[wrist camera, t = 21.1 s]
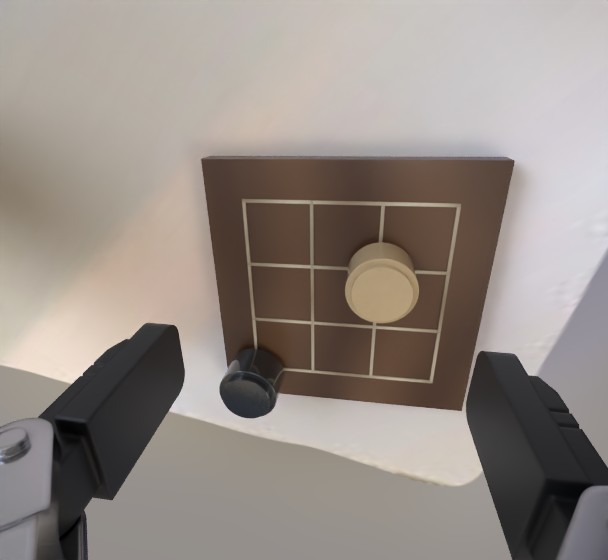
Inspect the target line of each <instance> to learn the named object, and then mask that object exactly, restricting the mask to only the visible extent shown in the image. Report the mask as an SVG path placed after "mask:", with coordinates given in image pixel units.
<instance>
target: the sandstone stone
mask: <svg viewBox="0 0 608 560" xmlns="http://www.w3.org/2000/svg"><path fill="white" fill-rule="evenodd" d="M345 296H346V300H347V303H348V305H349V306H350V308H351V309H352V310H353V311H354V313H356V314H357V315H358V316H359V317H361V318H363V319H365V320H367V321H370V322H374V323H390V322H394V321H397V320H399V319H401V318H403V317H404V316H406V315H407V314H408V313H409V312H410V311H411V310H412V309H413V308H414V306H415V304H416V302H417V300H418V296H419V285H418V281H417V277H416V273H415V270H414V266H413V263H412V260H411V258H410V257H409V255H408V254H407V253H406V252H405V251H404V250H403V249H401V248H400V247H398V246H396V245H393V244H390V243H383V242H381V243H373V244H369V245H367V246H365V247H363V248H361V249H360V250H358V251H357V252H356V253H355V254H354V256H353V257H352V258H351V260H350V262H349V265H348V270H347V278H346V286H345Z"/></svg>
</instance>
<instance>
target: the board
mask: <svg viewBox="0 0 608 560" xmlns="http://www.w3.org/2000/svg"><path fill="white" fill-rule="evenodd" d="M201 161H202V169H203V177H204V185H205V192H206V200H207V208H208V216H209V224H210V232H211V240H212V248H213V256H214V264H215V271H216V279H217V287H218V295H219V303H220V311H221V319H222V327H223V335H224V343H225V350H226V358H227V366H228V368H229V366H230V364H231V362H232V360H233V358H234V357H235V356H236V355H237V354H238V353H239V352H241V351H243V350H247V349H261V350H264V351H267V352H269V353H271V354H272V355H273V356H275V357H276V358H277V359H278V360H279V362H280V363H281V365H282V367H283V370H284V379H283V382H282V386H281V389H280V392H279V393H283V394H293V395H303V396H313V397H324V398H334V399H344V400H355V401H365V402H375V403H385V404H396V405H406V406H416V407H427V408H437V409H447V410H457V411H462V406H463V401H464V397H465V392H466V387H467V383H468V378H469V373H470V368H471V364H472V359H473V354H474V350H475V345H476V340H477V335H478V331H479V326H480V321H481V317H482V312H483V307H484V302H485V298H486V293H487V288H488V284H489V279H490V274H491V269H492V265H493V260H494V255H495V251H496V246H497V241H498V236H499V232H500V227H501V222H502V218H503V213H504V208H505V203H506V199H507V194H508V189H509V185H510V180H511V175H512V170H513V166H514V160H512V159H510V158H507V157H319V156H209V157H206V158H203V159H201ZM381 242H383V243H390V244H393V245H396V246H398V247H400V248H401V249H403V250H404V251H405V252H406V253H407V254H408V255H409V257H410V258H411V260H412V263H413V266H414V270H415V273H416V277H417V281H418V285H419V296H418V300H417V302H416V304H415V306H414V308H413V309H412V310H411V311H410V312H409V313H408V314H407V315H406V316H404V317H403V318H401V319H399V320H397V321H394V322H390V323H374V322H370V321H367V320H365V319H363V318H361V317H359V316H358V315H357V314H356V313H354V311H353V310H352V309H351V308H350V306H349V305H348V303H347V300H346V296H345V286H346V278H347V270H348V265H349V262H350V260H351V258H352V257H353V256H354V254H355V253H356V252H357V251H358V250H360V249H361V248H363V247H365V246H367V245H369V244H373V243H381Z"/></svg>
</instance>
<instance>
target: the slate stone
mask: <svg viewBox="0 0 608 560" xmlns="http://www.w3.org/2000/svg"><path fill="white" fill-rule="evenodd" d="M283 379H284V370H283V367H282V365H281V363H280V362H279V360H278V359H277V358H276V357H275V356H273V355H272V354H271V353H269V352H267V351H264V350H261V349H247V350H243V351H241V352H239V353H238V354H237V355H236V356H235V357H234V358H233V360H232V362H231V364H230V366H229V368H228V370H227V372H226V374H225V375H224V377H223V379H222V381H221V383H220V395H221V398H222V400H223V402H224V404H225V405H226V407H227V408H228V409H229V410H230V411H231V412H233V413H234V414H236V415H238V416H241V417H244V418H257V417H260V416H264V415H266V414H268V413H269V412H270V411H272V409H273V408H274V407H275V405H276V402H277V399H278V395H279V392H280V389H281V386H282V382H283Z"/></svg>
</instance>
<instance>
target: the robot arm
mask: <svg viewBox="0 0 608 560" xmlns="http://www.w3.org/2000/svg"><path fill="white" fill-rule="evenodd" d="M184 376H185V370H184V363H183V357H182V351H181V345H180V339H179V333H178V329H177V327H176V326H174V325H167V324H155V323H146V324H144V325H143V326H142V327H141V328H140V329H139V330H138V331H137V332H136V333H135V334H134V335H133V336H132V337H131V338H130V339H125V340H124V341H122V342H120V343H118V344H117V345H115V346H113V347H111V348H110V349H108V350H107V351H106V352H105V353H104V354H103V355H101V356H100V357H99V358H98V359H97V360H96V361H95V362H94V365H91V366H90V367H89V368H88V369H87V370H86V371H85V372H84V373H83V376H80V377H79V378H78V379H77V380H76V381H75V382H74V383H73V384H72V385H71V386H70V387H69V388H68V389H67V390H66V391H65V392H64V393H62V395H61V396H59V397H58V398H57V399H56V401H54V402H53V403H52V404H51V405H50V406H49V407H48V408H47V409H46V410H45V411H44V412H43V413H42V414H41V415H40V416H39V417H38V418H26V419H21V420H17V421H14V422H11V423H8V424H6V425H4V426H2V427H0V560H88V549H87V524H86V514H85V512H84V509H85V507H86V506H87V505H88V503H89V502H90V500H91V499H92V497H93V498H100V499H107V500H113V498H114V497H115V495H116V494H117V492H118V491H119V489H120V487H121V486H122V484H123V483H124V481H125V479H126V478H127V476H128V474H129V473H130V471H131V470H132V468H133V467H134V465H135V463H136V462H137V460H138V459H139V457H140V455H141V454H142V452H143V451H144V449H145V447H146V446H147V444H148V443H149V441H150V440H151V438H152V436H153V435H154V433H155V432H156V430H157V428H158V427H159V425H160V424H161V422H162V420H163V419H164V417H165V415H166V414H167V412H168V411H169V409H170V408H171V406H172V404H173V403H174V401H175V400H176V398H177V396H178V395H179V393H180V391H181V389H182V386H183V383H184ZM466 414H467V421H468V425H469V428H470V431H471V434H472V437H473V440H474V444H475V447H476V450H477V453H478V456H479V459H480V462H481V465H482V468H483V471H484V474H485V477H486V480H487V483H488V486H489V489H490V492H491V495H492V499H493V502H494V505H495V508H496V511H497V514H498V517H499V520H500V523H501V526H502V529H503V532H504V535H505V538H506V541H507V544H508V548H509V551H510V553H511V557H512V560H608V468H607V466H606V465H605V463H604V462H603V460H602V459H601V457H600V456H599V454H598V453H597V451H596V450H595V448H594V447H593V446H592V444H591V442H590V441H589V439H588V438H587V436H586V435H585V433H584V432H583V430H582V429H579V424H578V423H577V421H576V420H575V418H574V417H573V415H572V414H569V409H568V408H567V406H566V405H565V403H564V402H563V400H562V399H561V397H560V396H559V394H558V393H557V392H556V391H555V390H554V389H553V388H551V387H550V386H549V385H548V384H546V383H545V382H544V381H543V380H542V379H540V378H539V377H538V376H528V374H527V373H526V371H525V369H524V368H523V366H522V364H521V363H520V361H519V359H518V358H517V356H516V355H515V354H511V353H498V352H486V351H481V352H480V353H479V354H478V356H477V359H476V364H475V368H474V372H473V376H472V380H471V384H470V388H469V392H468V396H467V402H466Z"/></svg>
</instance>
